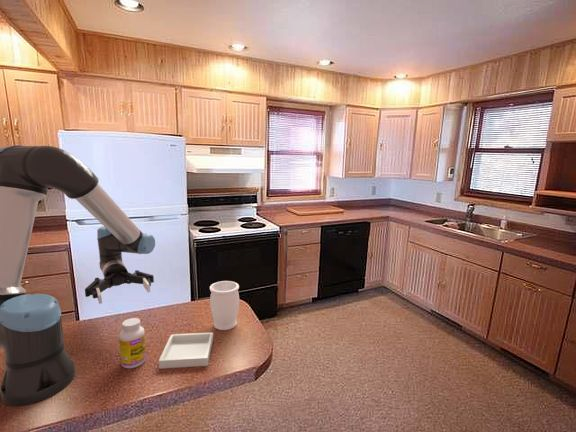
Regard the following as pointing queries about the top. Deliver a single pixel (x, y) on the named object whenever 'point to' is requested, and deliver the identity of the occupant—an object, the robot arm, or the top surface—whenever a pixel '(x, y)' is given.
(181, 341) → the tray
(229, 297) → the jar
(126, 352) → the supplement bottle
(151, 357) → the top surface
